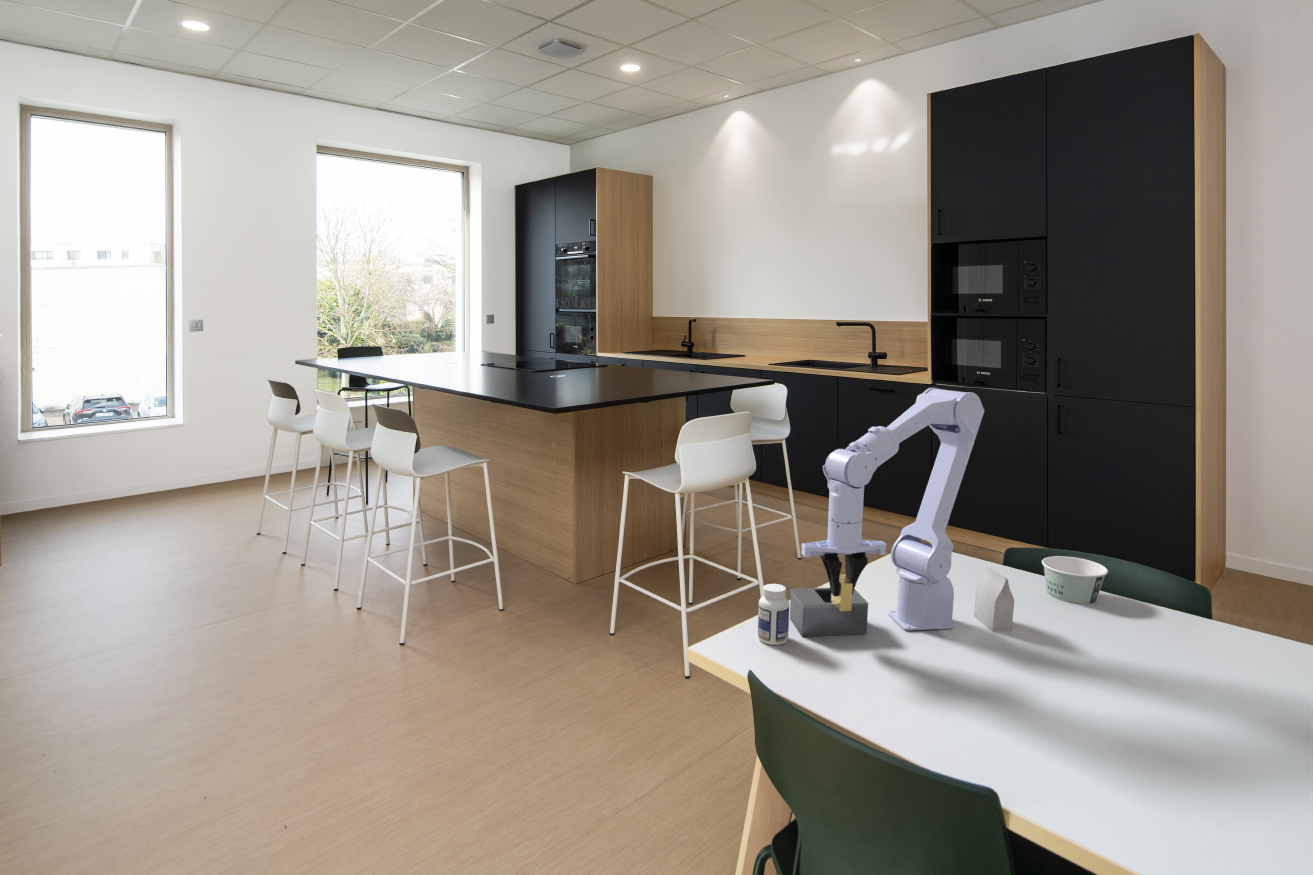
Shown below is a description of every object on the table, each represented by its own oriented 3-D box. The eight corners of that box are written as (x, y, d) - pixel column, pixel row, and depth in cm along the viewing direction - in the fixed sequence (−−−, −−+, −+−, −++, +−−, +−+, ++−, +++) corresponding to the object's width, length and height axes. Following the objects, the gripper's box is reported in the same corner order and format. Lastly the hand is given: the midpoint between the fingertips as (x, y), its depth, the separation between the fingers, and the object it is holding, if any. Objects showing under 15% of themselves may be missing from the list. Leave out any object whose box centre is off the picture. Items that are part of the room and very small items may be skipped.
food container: (1025, 590, 160) (1028, 560, 159) (1065, 581, 165) (1068, 552, 164) (1078, 610, 149) (1081, 579, 148) (1118, 601, 154) (1121, 570, 153)
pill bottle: (787, 633, 138) (789, 582, 136) (789, 646, 132) (791, 593, 131) (757, 632, 138) (758, 581, 137) (757, 645, 133) (759, 592, 131)
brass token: (841, 600, 136) (843, 574, 135) (851, 610, 131) (852, 583, 130) (831, 600, 135) (832, 574, 135) (840, 611, 131) (841, 583, 130)
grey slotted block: (850, 616, 145) (852, 586, 144) (866, 634, 138) (868, 602, 137) (789, 618, 144) (790, 588, 143) (802, 636, 136) (803, 605, 135)
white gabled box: (992, 631, 139) (996, 579, 137) (973, 616, 146) (978, 567, 144) (1011, 630, 140) (1016, 579, 138) (992, 616, 146) (996, 566, 144)
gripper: (876, 511, 135) (872, 584, 138) (797, 513, 134) (794, 586, 136) (892, 523, 129) (888, 598, 131) (809, 525, 127) (806, 602, 129)
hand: (841, 593), depth 133 cm, fingers closed on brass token, 2 cm apart
